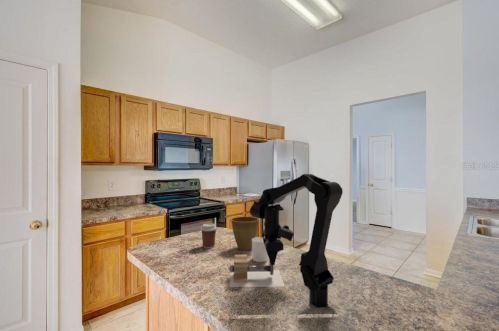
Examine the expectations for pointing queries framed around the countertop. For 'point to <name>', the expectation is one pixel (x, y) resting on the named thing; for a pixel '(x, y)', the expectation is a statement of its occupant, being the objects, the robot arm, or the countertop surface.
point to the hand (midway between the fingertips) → (271, 261)
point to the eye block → (240, 269)
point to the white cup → (259, 250)
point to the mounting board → (259, 280)
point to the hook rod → (256, 268)
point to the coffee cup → (208, 235)
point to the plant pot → (244, 231)
